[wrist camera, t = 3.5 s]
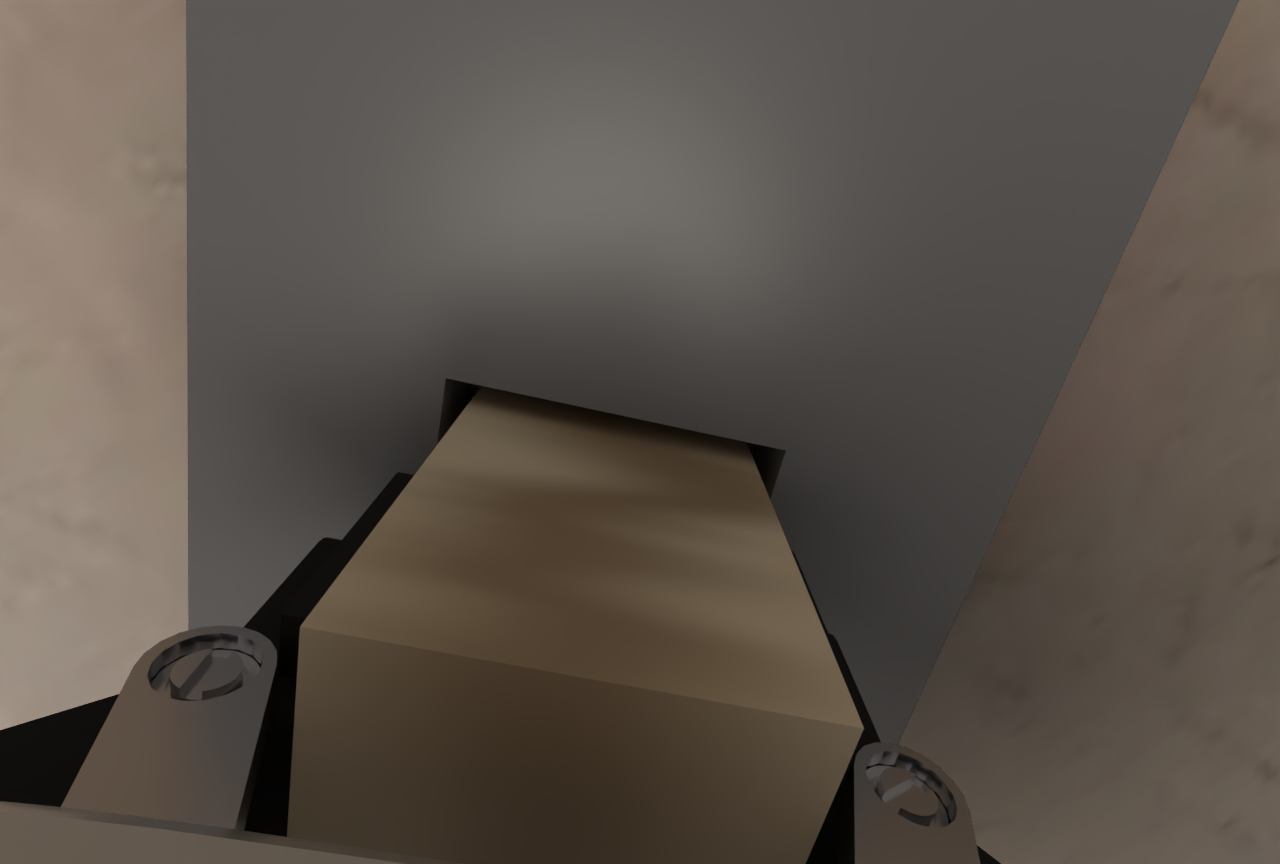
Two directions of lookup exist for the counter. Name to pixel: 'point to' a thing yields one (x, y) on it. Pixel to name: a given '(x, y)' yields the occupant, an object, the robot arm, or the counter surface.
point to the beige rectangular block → (571, 657)
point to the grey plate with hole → (665, 258)
